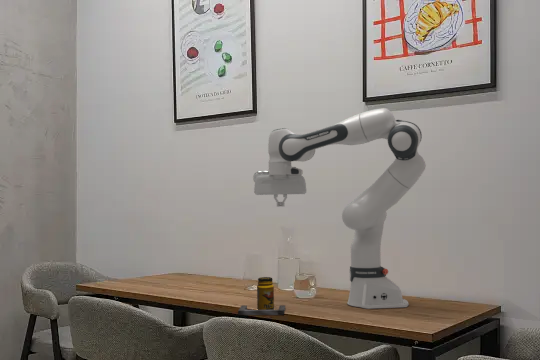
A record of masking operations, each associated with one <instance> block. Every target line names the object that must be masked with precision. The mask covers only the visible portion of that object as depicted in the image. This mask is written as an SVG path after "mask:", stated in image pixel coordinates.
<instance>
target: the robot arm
mask: <svg viewBox="0 0 540 360" xmlns="http://www.w3.org/2000/svg"><path fill="white" fill-rule="evenodd" d="M422 136H423V135H422V131H421V129H420V128H419V126H418V125H417V124H416V123H414V122H410V121H408V120H407V121H406V120H402V119H396V118H395V116H394V114H393V112H392V111H391V110H390V109H389V108H386V107H382V108H374V109H370V110H367V111H363V112H360V113H357V114H355V115H352V116H350V117H347V118H346V119H343V120H341V121H339V122H337V123H335V124H332V125H330V126H328V127H327V126H326V127H324V128H321V129H318V130H317V129H316V130H315V131H310V132H307V133H304V134H297V133H295V132H293V131H291V130H290V129H289V128H285V127H284V128H277V129H274V130H272V131H271V132H270V133H269V136H268V143H267V144H268V145H267V146H268V147H267V151H268V152H267V153H268V157H269V159H268V170H261V171H260V170H259V171H256V172H255V173H254V174H253V177H252V178H253V182H254V187H253V192H254V194H255V195H256V196H264V195H265V196H266V195H267V196H268V195H269V196H270V195H271V196H272V195H273V199H274V200H275V202H276V207H285V202H286V200H287V198H288V195H305V194H306V193H307V183H306V179H305V177H304V174H303V173H304V171H303V169H301V168H298V167H296V166H292V162H302V163H303V162H307V161H309V160H311V159H312V158H313V157H314V156H315V153H316V150H318V149H320V148H324V147H326V146H330V145H332V146H333V145H343V146H357V145H364V144H367V143H370V142H373V141H375V140H380V139H383V140H384V139H385V140H387V145H388V147H389V149H390V151H391V152H392V154H393V155H394V157H395V159H394V161H392V163H391V164H390V165H389V166H388V167H387V168H386V170H384V172H383V173H382V174H381V175H380V176H379V177H378V178H377V180H375V181H374V183H372V184H371V185H370V186H369V187H368V188H366V189H365V190H364V191H363V192H362V193H360V194H359V195H358V196H357V197H356V198H355V199H354V200H353V201H351V202H350V203H349V204H347V205H346V206H345V207H344V208H343V210H342V213H341V219H342V222H343V223H344V225H345V226H346V227H347V228H349V229H351V230H353V231H354V235H353V239H352V241H351V242H352V243H351V244H350V266H349V281H350V287H349V294H348V300H347V305H349V306H351V307H357V308H362V309H370V310H372V309H391V308H392V309H394V308H395V309H397V308H407V307H409V301H408V300H406V299H405V298H403V293H402V290H401V288H400V286H399V285H397V284H396V283H395V282H393V280H391V279H390V278H388V277H387V275H388V274H389V270H388V269H387V268H386V267H383V266H382V265H381V264H382V263H381V259H382V258H381V245H382V244H381V243H382V238H383V237H382V236H383V230H384V224H385V221H386V219H387V211H388V210H389V209H391V208H392V207H393V206H394V205H396V204H397V203H398V202H399V201H400V200H401V199H402V198H403V197H404V196H405V195H406V194H407V193H408V192H409V191H410V190H411V189H412V187H413V186H414V185H415V184H416V183H417V182H418V180H419V179H420V177H421V176H422V175H423V173H424V171H425V170H426V166H427V164H426V161H425V160H424V158H423V156H421V155H420V154H419V152H418V148H419V146H420V143H421V141H422ZM278 195H282V196H283V200H282V201H279V200H278V197H279V196H278Z"/></svg>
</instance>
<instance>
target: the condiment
mask: <svg viewBox="0 0 540 360" xmlns="http://www.w3.org/2000/svg"><path fill="white" fill-rule="evenodd" d="M274 289H275V287H274V282H273V277H269V276H263V277H262V276H261V277H258V278H257V286H256V296H257V297H256V303H257V304H256V305H257V307H256V308H257V309H258V310H274V309H275V295H274V294H275V293H274V292H275V291H274Z"/></svg>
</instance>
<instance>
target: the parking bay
mask: <svg viewBox="0 0 540 360" xmlns="http://www.w3.org/2000/svg"><path fill="white" fill-rule="evenodd" d="M284 311H286V305H283V304H282V305H281V304H280V305H279V306H278V309H276V310H253V309H248V305H243V304H242V305H240V307H239V309H238V310H237V316H284V315H285V312H284Z"/></svg>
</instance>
